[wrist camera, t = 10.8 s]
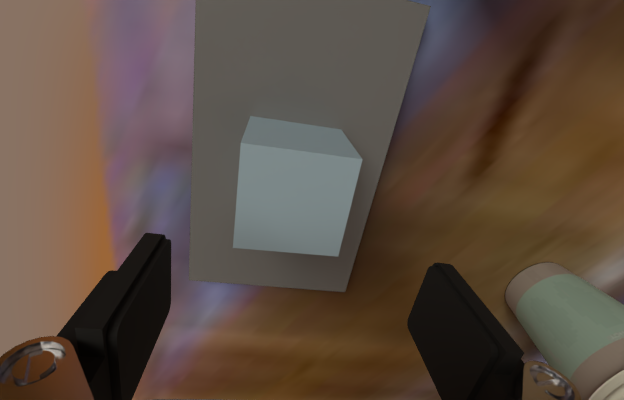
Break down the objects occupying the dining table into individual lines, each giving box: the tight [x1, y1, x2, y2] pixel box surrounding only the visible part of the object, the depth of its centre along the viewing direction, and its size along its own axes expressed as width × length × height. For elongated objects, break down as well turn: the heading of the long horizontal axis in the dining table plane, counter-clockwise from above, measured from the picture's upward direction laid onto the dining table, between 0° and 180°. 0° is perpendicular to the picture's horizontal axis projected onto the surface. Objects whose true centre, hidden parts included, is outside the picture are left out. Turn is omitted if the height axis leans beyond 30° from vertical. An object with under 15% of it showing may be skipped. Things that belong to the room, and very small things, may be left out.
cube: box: [233, 116, 363, 257], centre depth 18 cm, size 6×6×6 cm
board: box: [189, 0, 431, 292], centre depth 21 cm, size 20×12×2 cm, turn 169°
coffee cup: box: [505, 263, 624, 400], centre depth 24 cm, size 8×8×12 cm
